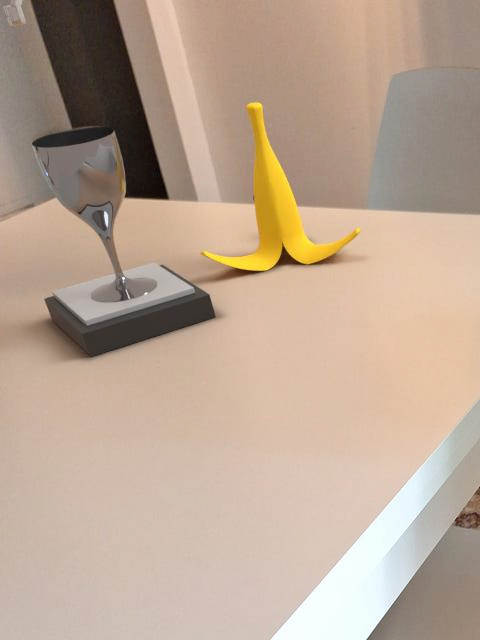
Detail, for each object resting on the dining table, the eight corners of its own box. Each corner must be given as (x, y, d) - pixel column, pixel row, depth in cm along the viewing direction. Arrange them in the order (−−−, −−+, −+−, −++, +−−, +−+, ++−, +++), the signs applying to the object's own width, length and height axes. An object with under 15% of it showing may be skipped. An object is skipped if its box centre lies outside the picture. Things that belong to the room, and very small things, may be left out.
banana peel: (204, 282, 109) (160, 124, 98) (281, 230, 122) (250, 85, 111) (328, 288, 104) (296, 122, 93) (395, 233, 117) (374, 82, 106)
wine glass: (174, 276, 102) (129, 125, 92) (136, 304, 96) (84, 146, 87) (113, 275, 104) (63, 127, 94) (72, 302, 98) (14, 148, 89)
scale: (90, 357, 95) (79, 327, 93) (52, 320, 104) (41, 293, 102) (216, 317, 100) (208, 288, 98) (169, 285, 109) (161, 258, 107)
